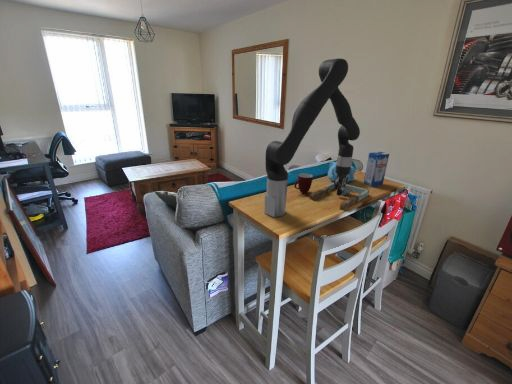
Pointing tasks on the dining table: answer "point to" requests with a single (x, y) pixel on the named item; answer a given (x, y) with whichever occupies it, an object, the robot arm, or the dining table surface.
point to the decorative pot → (333, 175)
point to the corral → (353, 190)
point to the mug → (304, 182)
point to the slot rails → (342, 205)
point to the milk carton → (376, 168)
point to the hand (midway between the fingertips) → (338, 195)
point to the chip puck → (345, 191)
